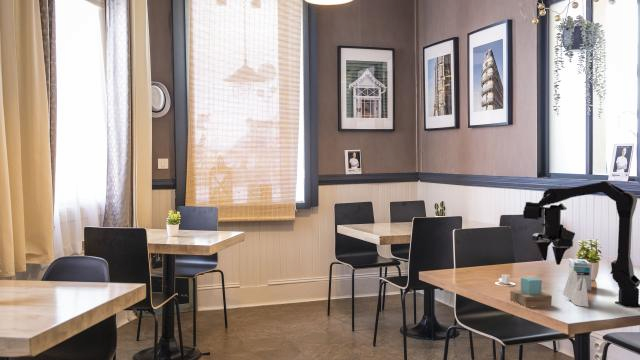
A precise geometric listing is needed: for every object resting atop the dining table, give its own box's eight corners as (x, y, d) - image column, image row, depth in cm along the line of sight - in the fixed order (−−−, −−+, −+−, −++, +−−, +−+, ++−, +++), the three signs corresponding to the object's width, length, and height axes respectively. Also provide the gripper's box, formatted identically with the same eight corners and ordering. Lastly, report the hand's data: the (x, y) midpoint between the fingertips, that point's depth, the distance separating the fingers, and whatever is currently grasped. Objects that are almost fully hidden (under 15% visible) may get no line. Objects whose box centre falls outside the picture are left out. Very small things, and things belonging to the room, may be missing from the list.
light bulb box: (591, 290, 240) (592, 263, 240) (573, 289, 241) (573, 262, 241) (585, 285, 251) (586, 258, 250) (567, 284, 252) (568, 258, 251)
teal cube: (541, 294, 217) (541, 280, 217) (528, 294, 216) (529, 280, 216) (532, 291, 222) (533, 277, 222) (520, 291, 221) (521, 277, 221)
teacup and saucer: (498, 281, 258) (498, 272, 258) (518, 284, 254) (518, 274, 253) (492, 285, 250) (492, 275, 250) (512, 287, 246) (512, 277, 246)
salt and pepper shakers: (561, 298, 226) (562, 268, 226) (572, 298, 227) (573, 268, 226) (577, 306, 214) (578, 275, 214) (589, 306, 215) (590, 275, 214)
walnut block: (551, 307, 215) (551, 295, 215) (525, 308, 213) (526, 297, 213) (534, 300, 225) (535, 289, 225) (510, 301, 223) (510, 290, 223)
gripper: (586, 223, 225) (585, 266, 226) (557, 218, 243) (557, 257, 244) (558, 224, 223) (557, 267, 224) (531, 218, 241) (531, 258, 242)
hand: (551, 262), depth 233 cm, fingers open, 9 cm apart
